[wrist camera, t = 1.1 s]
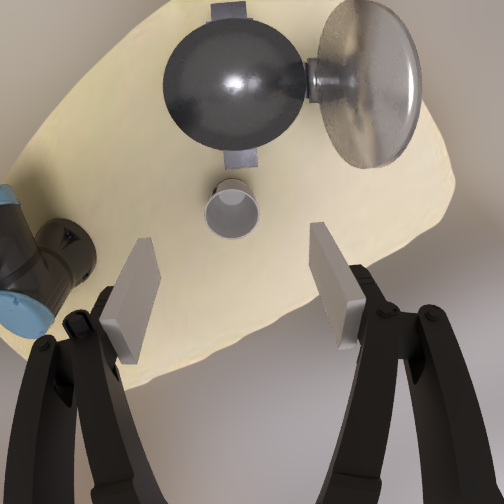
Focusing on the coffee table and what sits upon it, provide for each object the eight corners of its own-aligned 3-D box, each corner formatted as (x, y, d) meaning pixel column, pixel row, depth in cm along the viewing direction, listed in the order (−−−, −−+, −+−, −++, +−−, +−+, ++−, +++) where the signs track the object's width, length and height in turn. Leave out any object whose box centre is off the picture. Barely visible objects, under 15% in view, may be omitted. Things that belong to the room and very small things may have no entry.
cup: (215, 165, 51) (211, 183, 43) (260, 177, 53) (266, 197, 44) (204, 207, 55) (199, 232, 47) (247, 217, 57) (250, 244, 48)
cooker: (185, 157, 50) (172, 177, 40) (171, 26, 38) (153, 11, 28) (305, 147, 51) (324, 165, 40) (298, 16, 39) (317, -1, 28)
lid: (394, 196, 23) (427, 193, 23) (392, -22, 13) (428, -10, 14) (308, 145, 39) (333, 144, 40) (302, 17, 30) (328, 19, 31)
